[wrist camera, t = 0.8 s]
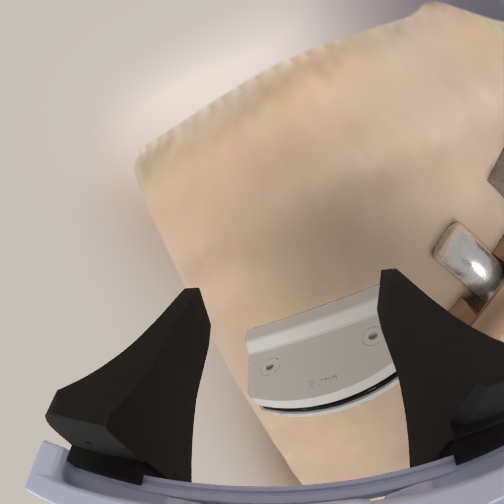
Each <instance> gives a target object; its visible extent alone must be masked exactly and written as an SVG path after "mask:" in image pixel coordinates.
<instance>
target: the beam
mask: <svg viewBox="0 0 504 504" xmlns="http://www.w3.org/2000/svg"><path fill="white" fill-rule="evenodd" d="M492 254H493V255H494V256H495V257H496V258H497V259H498V260H499V261H500V262H501V263H502V264H503V265H504V235H503V237H502V239H501V240H500V242H499V243H498V245H497V247H496V248H495V250H494V251H493V253H492ZM449 313H451V314H452V315H454V316H455V317H457V318H458V319H460V320H461V321H463V322H465V323H466V324H468V325H469V326H471V327H473V328H475V329H477V330H478V331H480V332H482V333H484V334H486V335H488V336H490V337H492V338H494V339H497V340H499V339H500V338H501V337H502V335H503V334H504V280H503V281H502V282H501V284H500V285H499V287H498V288H497V289H496V291H495V292H494V294H493V295H492V296H491V298H490V299H489V300H488V302H487V303H486V304H485V305H484V307H483V308H482V309H481V311H480V312H479V311H477V310H476V309H475V308H474V307H473V306H472V305H471V304H470V303H468V302H467V301H466V300H465V299H464V298H463V297H462V296H461V297H460V298H459V300H458V301H457V302H456V303H455V305H454V306H453V307H452V308H451V310H450V311H449Z"/></svg>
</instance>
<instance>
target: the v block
mask: <svg viewBox="0 0 504 504" xmlns="http://www.w3.org/2000/svg"><path fill="white" fill-rule="evenodd" d="M488 181H489V182H490V183H491V184H492V185H493V186H494V187H495V188H496V189H497V190H498V191H499V192H500V193H501V195H502V196H503V197H504V149H503V151H502V153H501V155H500V157H499V159H498V161H497V163H496V165H495V167H494V169H493V171H492V172H491V174H490V176H489V178H488Z"/></svg>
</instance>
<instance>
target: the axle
mask: <svg viewBox="0 0 504 504" xmlns="http://www.w3.org/2000/svg"><path fill="white" fill-rule="evenodd" d="M433 256H434V258H435V259H436V260H437V261H438V262H439V263H441V264H442V265H443V266H444V267H445V268H447V269H448V270H449V271H450V272H451V273H452V274H454V275H455V276H456V277H457V278H458V279H459V280H460V281H462V282H463V283H464V284H465V285H466V286H467V287H468V288H469V289H471V290H472V291H473V292H474V293H475V294H476V295H477V296H478V297H479V298H480V299H481V300H483V301H484V302H485V303H487V302H488V300H489V299H490V298H491V296H492V295H493V294H494V292H495V291H496V289H497V288H498V287H499V285H500V284H501V282H502V281H503V280H504V266H503V265H502V264H501V263H500V262H499V261H498V260H497V258H496V257H495V256H494V255H493V254H492V253H491V252H490V251H489V250H488V249H487V248H486V247H484V246H483V245H482V244H481V243H480V242H479V241H478V240H477V239H476V238H475V237H474V236H473V235H472V234H471V233H470V232H469V231H468V230H467V229H465V228H464V227H463V226H462V225H461V224H460V223H458V222H456V223H453V224H452V225H450V226H449V227H448V228H447V229H446V230H445V232H444V233H443V235H442V236H441V238H440V239H439V240H438V242H437V244H436V246H435V249H434V253H433Z"/></svg>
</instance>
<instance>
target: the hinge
mask: <svg viewBox="0 0 504 504" xmlns="http://www.w3.org/2000/svg"><path fill="white" fill-rule="evenodd" d="M379 287H380V284H378V285H376V286H373V287H371V288H368V289H366V290H363V291H360V292H358V293H355V294H352V295H350V296H347V297H344V298H342V299H339V300H336V301H333V302H331V303H328V304H325V305H322V306H319V307H317V308H314V309H311V310H308V311H305V312H302V313H299V314H296V315H293V316H290V317H287V318H284V319H281V320H278V321H275V322H272V323H269V324H266V325H263V326H260V327H256V328H253V329H250V330H247V335H246V346H247V349H248V353H249V374H248V394H249V396H250V397H251V399H252V400H253V402H254V403H255V404H257V405H259V406H260V408H261V409H262V410H264V411H266V412H269V413H271V414H276V415H282V416H293V417H306V416H318V415H325V414H330V413H335V412H339V411H342V410H346V409H349V408H352V407H355V406H358V405H360V404H362V403H365V402H367V401H369V400H371V399H373V398H375V397H377V396H379V395H381V394H383V393H384V392H386V391H388V390H389V389H391V388H393V387H394V386H395V385H397V384H398V383H400V382H399V379H398V375H397V372H396V369H395V366H394V363H393V361H392V358H391V355H390V352H389V350H388V347H387V344H386V341H385V338H384V336H383V333H382V330H381V326H380V322H379V317H378V313H377V304H378V296H379Z"/></svg>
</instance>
